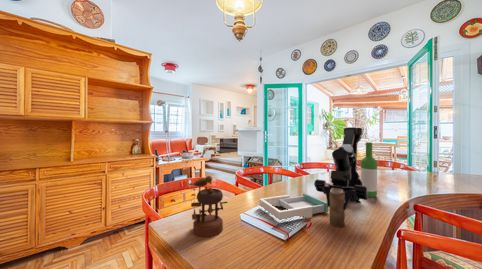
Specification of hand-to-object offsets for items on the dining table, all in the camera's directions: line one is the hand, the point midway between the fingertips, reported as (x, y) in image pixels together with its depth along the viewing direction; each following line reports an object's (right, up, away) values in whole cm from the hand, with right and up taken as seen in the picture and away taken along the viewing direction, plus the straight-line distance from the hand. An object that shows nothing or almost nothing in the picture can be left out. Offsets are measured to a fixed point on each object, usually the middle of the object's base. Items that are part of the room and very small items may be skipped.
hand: (336, 208), depth 74 cm
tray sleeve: (-17, -6, +12) cm, 22 cm away
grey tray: (-8, -6, +16) cm, 19 cm away
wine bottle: (+36, -7, +36) cm, 51 cm away
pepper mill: (+1, -7, +1) cm, 7 cm away
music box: (-47, -7, -3) cm, 48 cm away
